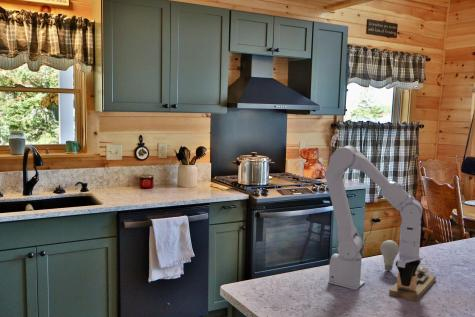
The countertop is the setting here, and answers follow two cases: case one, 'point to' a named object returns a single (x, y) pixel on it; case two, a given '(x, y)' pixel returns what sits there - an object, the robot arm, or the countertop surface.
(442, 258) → the countertop surface
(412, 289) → the forked latch lever
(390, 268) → the lightbulb
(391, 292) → the wooden board
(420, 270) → the dished metal disc
